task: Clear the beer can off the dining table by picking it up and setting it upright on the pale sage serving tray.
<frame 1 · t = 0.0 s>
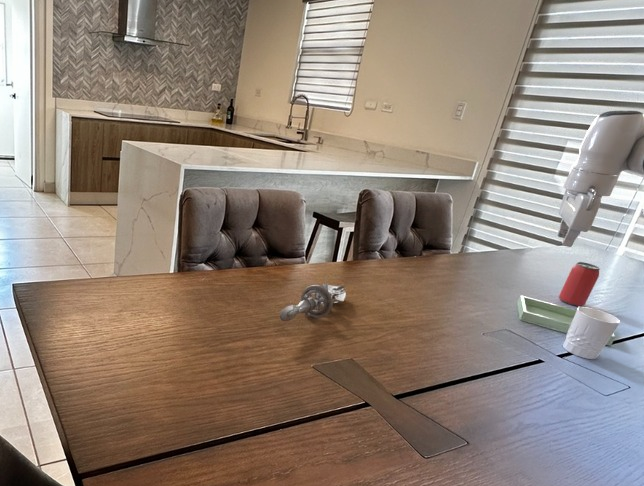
hand: (563, 241, 113), 23 cm above the table, tool pointing down, fingers open, 8 cm apart
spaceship: (312, 317, 113), on the table
beer can: (570, 302, 142), on the table
white cup: (578, 352, 112), on the table
serving tray: (560, 323, 126), on the table
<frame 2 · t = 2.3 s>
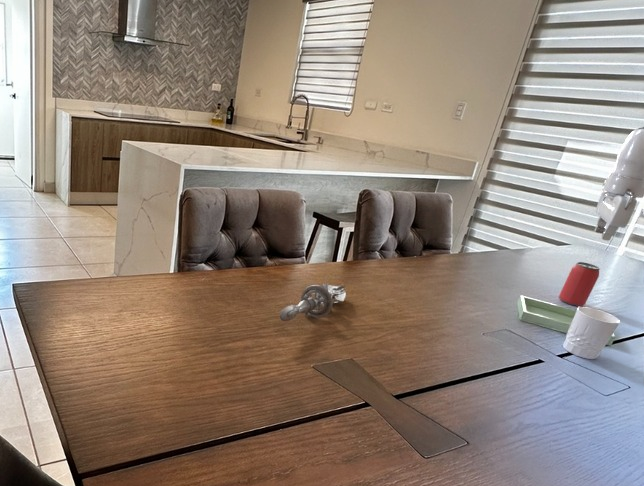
hand: (601, 235, 133), 21 cm above the table, tool pointing down, fingers open, 8 cm apart
nothing on the table moved.
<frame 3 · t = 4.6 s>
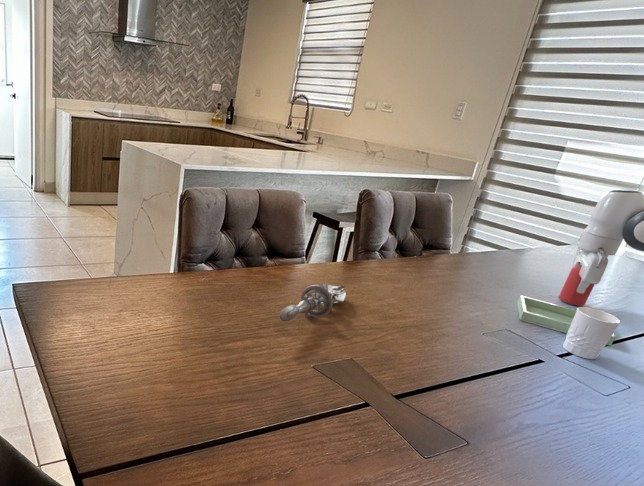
hand: (577, 288, 140), 5 cm above the table, tool pointing down, fingers closed on beer can, 6 cm apart
beer can: (570, 302, 142), on the table, touching gripper
everything else where it was.
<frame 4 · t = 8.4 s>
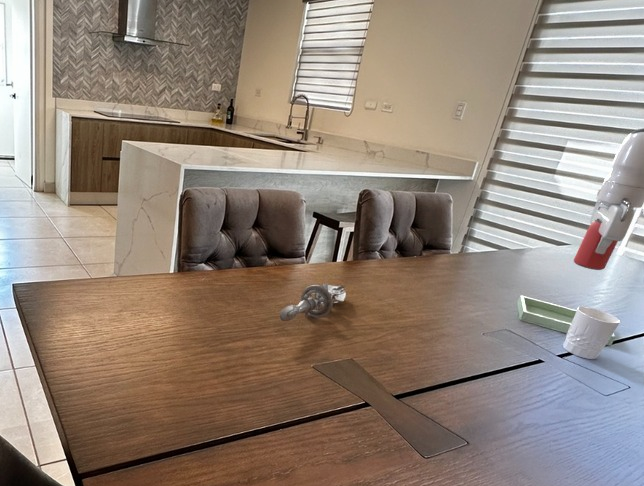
hand: (596, 249, 120), 21 cm above the table, tool pointing down, fingers closed on beer can, 6 cm apart
beer can: (587, 266, 122), point 16 cm above the table, touching gripper
everything else where it was.
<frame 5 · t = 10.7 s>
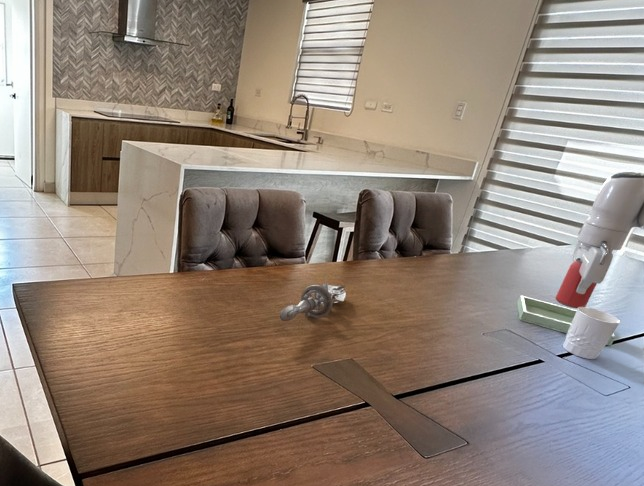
hand: (577, 288, 122), 10 cm above the table, tool pointing down, fingers closed on beer can, 6 cm apart
beer can: (568, 304, 124), point 6 cm above the table, touching gripper
everything else where it was.
when the fingers open (5 cm above the table, at t = 12.6 s): beer can stays where it is, resting on serving tray.
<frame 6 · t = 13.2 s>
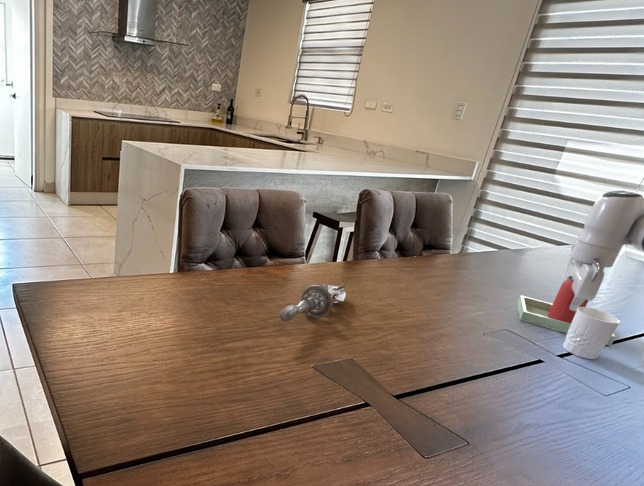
hand: (569, 303, 124), 6 cm above the table, tool pointing down, fingers open, 8 cm apart
beer can: (560, 321, 126), resting on serving tray
everything else where it was.
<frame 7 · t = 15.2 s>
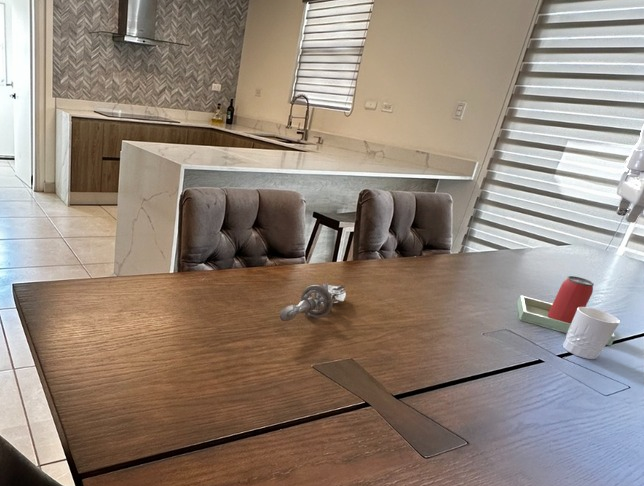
hand: (624, 218, 121), 28 cm above the table, tool pointing down, fingers open, 8 cm apart
nothing on the table moved.
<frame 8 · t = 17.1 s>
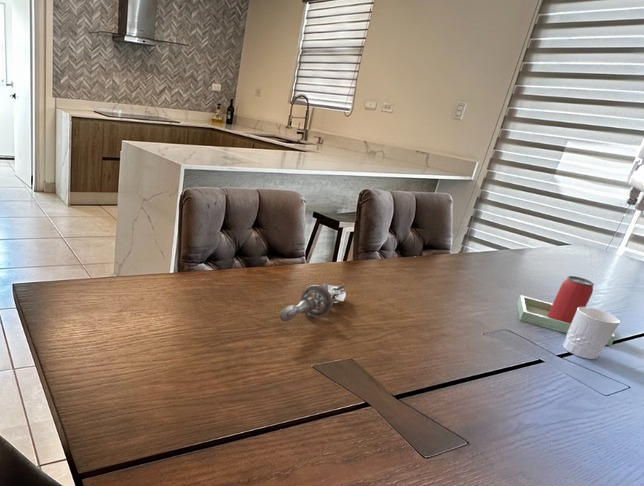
hand: (634, 207, 123), 31 cm above the table, tool pointing down, fingers open, 8 cm apart
nothing on the table moved.
at the end: beer can inside the target area in the serving tray (0.0 cm from its centre), point 0.4 cm above the serving tray's base; beer can tilted 0°; white cup moved 0.2 cm from its start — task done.
